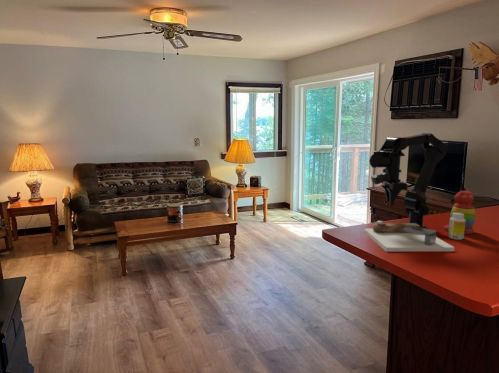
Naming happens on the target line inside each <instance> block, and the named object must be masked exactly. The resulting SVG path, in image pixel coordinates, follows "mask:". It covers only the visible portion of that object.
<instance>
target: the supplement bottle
mask: <svg viewBox="0 0 499 373" xmlns="http://www.w3.org/2000/svg"><path fill="white" fill-rule="evenodd" d="M448 225H449V231H448V234H447V236H448V238H449V239H453V240H463V239H464V237H465V234H464V230H465V219H464V214H463V213H458V212H454V213H453V214H452V217H451V218H450V217H449V222H448Z"/></svg>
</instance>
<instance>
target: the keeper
mask: <svg viewBox="0 0 499 373" xmlns="http://www.w3.org/2000/svg"><path fill="white" fill-rule="evenodd" d="M404 231H408V232H413V233H417V234H421V235H425V242H424V244H425V245H429V246H430V245H432V244H434V243H436V237H437V232H438V231H437V230H434V229H429V228H426V227H416V226H411V225H410V226H407V227H405V228H404Z"/></svg>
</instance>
